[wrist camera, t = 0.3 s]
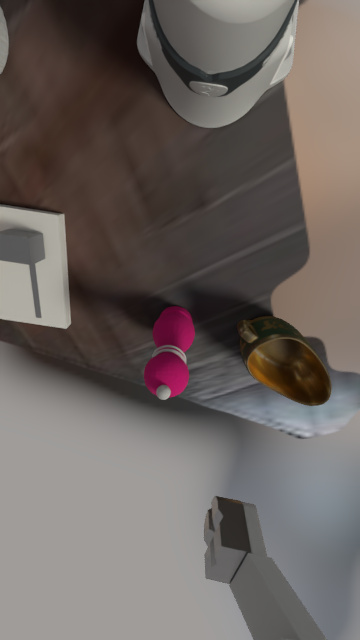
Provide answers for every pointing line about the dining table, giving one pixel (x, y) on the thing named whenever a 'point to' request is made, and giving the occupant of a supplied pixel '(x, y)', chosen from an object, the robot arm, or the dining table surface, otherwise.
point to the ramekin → (3, 41)
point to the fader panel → (36, 272)
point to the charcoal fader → (21, 246)
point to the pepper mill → (170, 353)
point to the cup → (283, 360)
